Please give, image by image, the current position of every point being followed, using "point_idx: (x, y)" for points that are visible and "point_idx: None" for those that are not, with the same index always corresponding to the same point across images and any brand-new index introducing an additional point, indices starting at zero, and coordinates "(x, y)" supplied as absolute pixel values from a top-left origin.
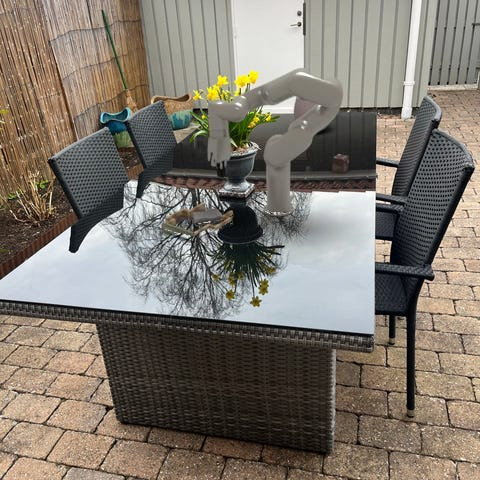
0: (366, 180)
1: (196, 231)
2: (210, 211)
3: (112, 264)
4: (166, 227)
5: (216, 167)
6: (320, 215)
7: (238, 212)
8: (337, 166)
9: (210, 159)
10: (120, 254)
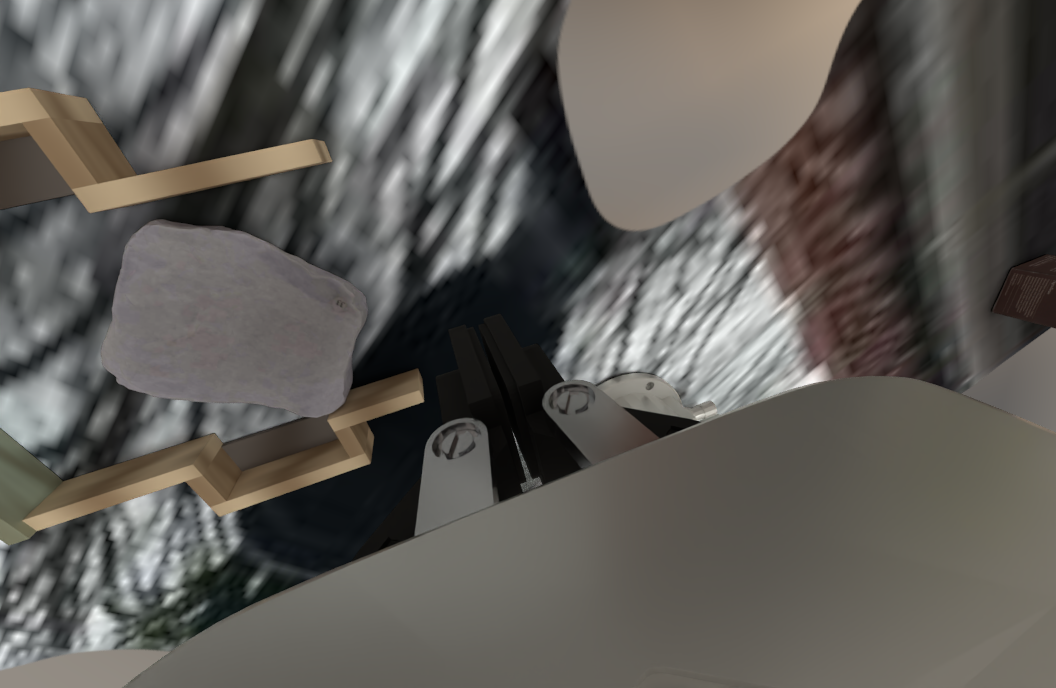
0: None
1: (59, 512)
2: (286, 333)
3: None
4: None
5: (435, 449)
6: None
7: (483, 345)
8: (1038, 298)
9: (233, 676)
10: None
